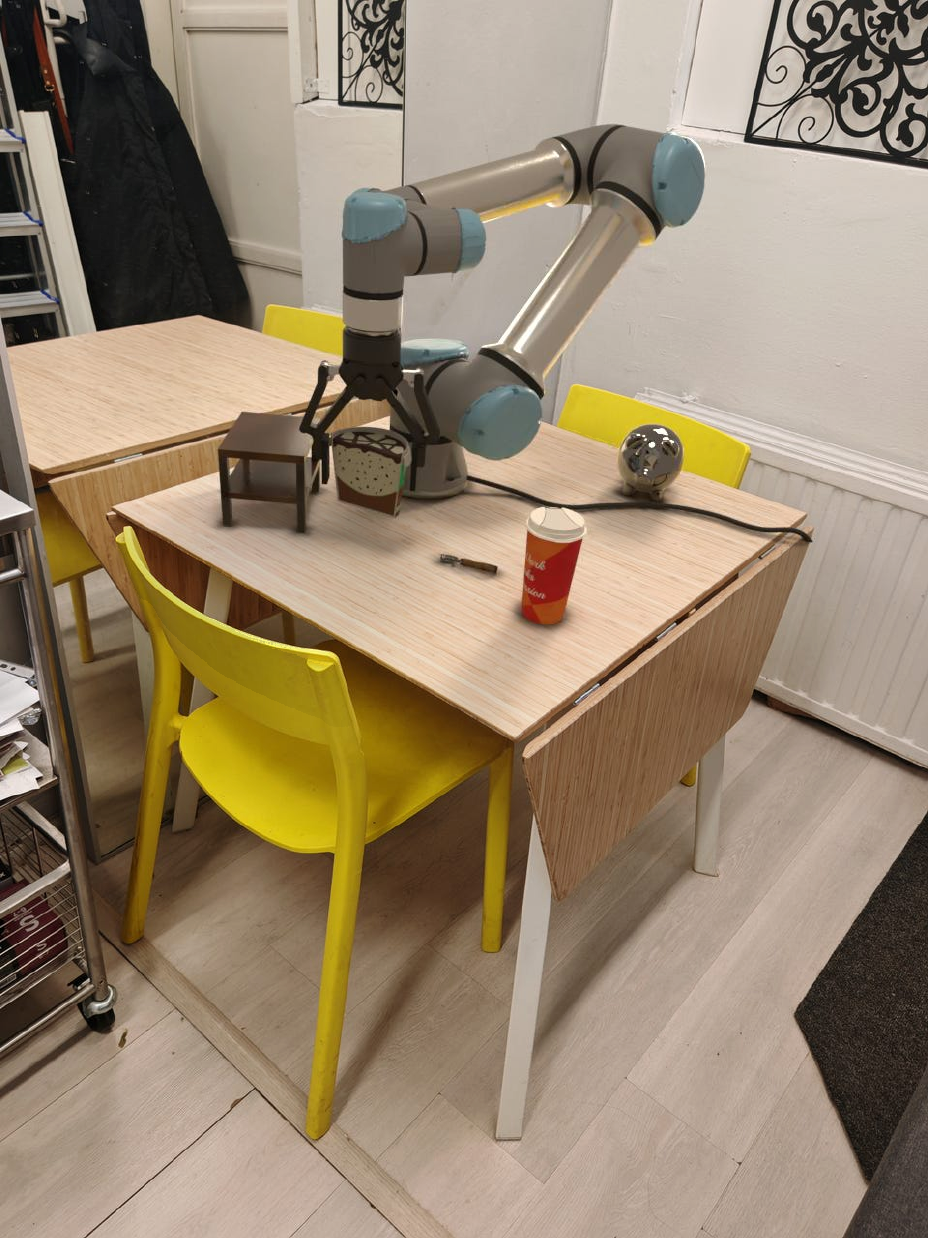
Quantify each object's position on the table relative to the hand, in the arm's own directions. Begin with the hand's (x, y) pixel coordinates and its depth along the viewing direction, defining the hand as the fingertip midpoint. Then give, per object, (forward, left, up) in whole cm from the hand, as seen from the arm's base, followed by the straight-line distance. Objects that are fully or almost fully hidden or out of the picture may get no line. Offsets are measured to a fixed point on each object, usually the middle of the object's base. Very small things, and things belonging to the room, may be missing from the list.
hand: (369, 483), depth 126 cm
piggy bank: (-45, -26, -9) cm, 53 cm away
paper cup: (-25, +16, -9) cm, 31 cm away
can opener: (-15, +5, -9) cm, 18 cm away
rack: (+15, -8, -9) cm, 20 cm away
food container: (-1, 0, -3) cm, 3 cm away
